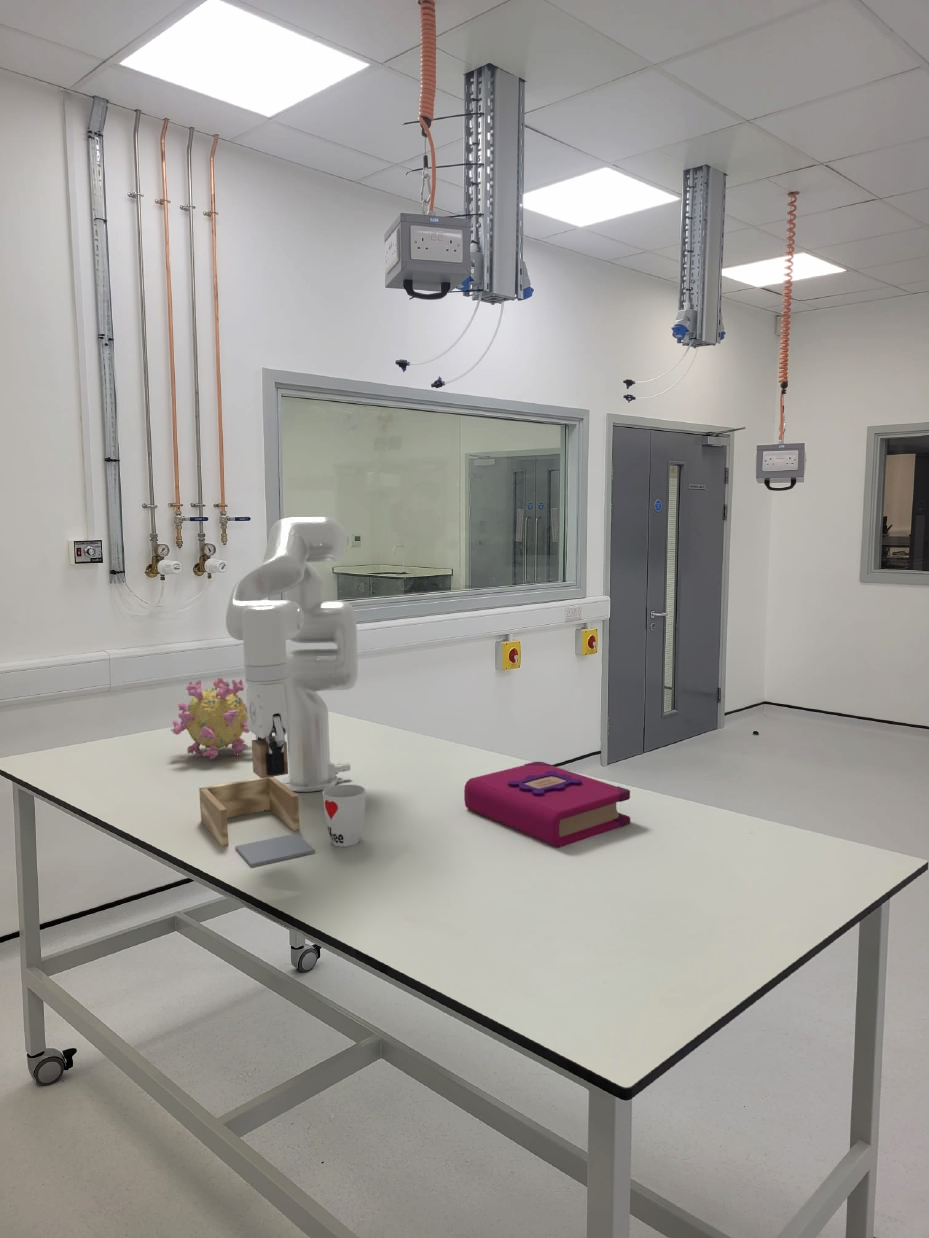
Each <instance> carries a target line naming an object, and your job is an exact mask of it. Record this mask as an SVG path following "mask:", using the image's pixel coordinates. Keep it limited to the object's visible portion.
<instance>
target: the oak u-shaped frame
mask: <svg viewBox="0 0 929 1238" xmlns="http://www.w3.org/2000/svg"><path fill="white" fill-rule="evenodd" d="M198 791H199V805H200V806H199V807H200V821H201V823H202V824H203V825H204V826H205V827H206V829H207V830H208V831H209V833H210V834H211V835H212V836H213V837H214V838H215V840H217V841H218V843H219V844H220V845H221V846H222V847H225V846H228V845H229V830H228V819H229V818H236V817H239V815H240V816H245V814H246V815H249V814H255V812H256V813H260V811H261V812H265V811H264V810H266V811H271V812H272V813H273V812H274V815H276V816H277V818H279V819H280V820H281V821H282V822H283V823H284V824H285V825H287V826H288V828H290V829H291V830H292V831H293V832H295V831H300V829H301V828H300V826H301V824H300V808H299V807H300V805H299V795H298V794H297V793H296V792H295V791H292V790H290V789H289V788H288V787H286V786H285V785H284V784H283V782H281V780H279V779H278V778H276V776H274V777H268V778H262V779H261V778H260V777H255V778H249V779H244V780H240V781H239V780H238V781H233V782H232V781H231V782H228V783H221V784H216V785H215V784H214V785H210V786H205V787H199V789H198Z"/></svg>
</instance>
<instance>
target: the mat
mask: <svg viewBox="0 0 929 1238" xmlns="http://www.w3.org/2000/svg"><path fill="white" fill-rule="evenodd" d="M235 850H236V851H237V852H238V854H239V855H240V856H241V857H242V859H244V861H245V862H246V863H247V864H248V865H249V867H250V868H254V867H258V866H262V865H267V864H272V863H275V862H281V861H285V860H289V859H293V858H294V859H295V858H298V857H302V856H306V855H311V854H315V853H316V849H315V848H314V847H313V846H312V845H310V844H309V843H308V842H307V841H306V840H305V839H303V837H302V836H301V835H299V834H298V833H297V832H295V833H291V834H286V835H282V836H277V837H272V838H268V839H263V840H257V841H255V842H249V843H245V844H244V843H243V844H240V845H239V844H238V845H236V846H235Z"/></svg>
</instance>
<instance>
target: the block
mask: <svg viewBox="0 0 929 1238" xmlns="http://www.w3.org/2000/svg"><path fill="white" fill-rule="evenodd" d="M273 741H275V739H273V740H271V746H272V743H273ZM267 753H268V752H267V744H266V738H265V739H257V740H256V739H252V740H251V754H252V772H253V773H254V774H255V775H257V776H258V778H261V779H262V778H268V777H277V776H278V777H279V776H285V775H288V774H289V760H288V741H286V740H285V742H284V767H285V772H284V773H282V774H276V775H271V776H269V775H267V770H266V754H267Z"/></svg>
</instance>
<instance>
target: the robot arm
mask: <svg viewBox="0 0 929 1238" xmlns="http://www.w3.org/2000/svg"><path fill="white" fill-rule="evenodd" d="M347 550H348V535H347V531H346V530H345V528H344V526H343V525H342V524H341V523H339V522H338V521H337V520H335V519H333V518H332V517H327V516H305V517H304V516H303V517H301V516H300V517H299V516H298V517H296V516H295V517H294V516H293V517H286V518H284V517H283V518H281V519H279V520H277V521H276V522H275V523H274V524H273V525H272V527H271V528H270V532H269V535H268V540H267V543H266V547H265V552H264V556H263V560H262V563H260V564H258V565H257V566H256V567H254V568H252V570H249V572H247V573H246V574H245V575H243V576H242V577H241V578H240V579H239V580H238V581H237V582H236V583H235V584H234V586H233V589H232V591H231V594H230V598H229V600H228V604H227V609H226V612H225V613H226V614H225V627H226V630H227V631H226V632H227V633H228V634H229V636H230V637H231V638H232V639H235V640H236V641H237V640H238V641H243V642H242V643H243V645H242V646H243V662H244V663H243V664H244V667H243V669H244V682H245V683H246V684H247V686H246V706H247V728H248V730H249V732H251V733H252V734H254V735H255V740H257V739H265V738H266V744H267V752H268V753H267V754H266V770H267V775H269V776H271V775H276V774H282V773H284V772H285V767H284V742H285V741H286V740H287V758H288V774H289V775H288V776H286V777H285V778H284V779H283V780H282V783H283V784H284V785H285V786H286V787H288V788H289V789H290V790H292V791H293V792H297V793H298V792H300V793H307V792H308V793H309V792H318V791H323V790H325V789H326V788H329V787H332V786H336V785H338V776H337V775H338V774H339V773H345V772H350V771H351V768H352V767H351V763H350V762H346V763H341V762H332V761H331V754H330V753H331V750H330V730H329V729H330V725H329V710H328V707H327V704H326V703H325V701H324V699H323V698H322V696H321V695H320V694H319V693H318V692H322V691H323V692H324V691H344V690H345V691H347V690H350V689H353V688H354V687H355V686H356V684H357V682H358V674H359V673H358V672H359V671H358V669H359V667H358V633H357V632H358V631H357V630H358V628H357V627H358V626H357V617H356V613H355V609H354V608H353V606H352V605H351V604H350V603H349V602H346V601H340V600H337V601H335V600H333V601H325V600H324V582H323V578H322V576H321V575H320V574H319V571H317V569H316V568H315V567H314V566H313V565H312V564H311V563H322V562H323V563H324V562H325V563H326V562H339V561H342V560H343V559H344V558H345V557H346V554H347V552H348V551H347ZM284 592H285V599H282V600H281V599H277V600H274V599H273V600H269V599H268V598H269V597H273V596H277V595H279V594H281V593H284ZM286 640H287V641H288V640H290V641H292V642H294V643H297V644H298V643H300V644H331V643H332V644H334V645H336V647H337V648H305V649H301V648H300V649H295V650H291V651H288V652H287V644H286ZM273 734H274V735H273ZM286 735H287V736H286ZM286 737H287V739H286ZM273 739H275V741H273V743H272V746H271V740H273Z"/></svg>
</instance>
